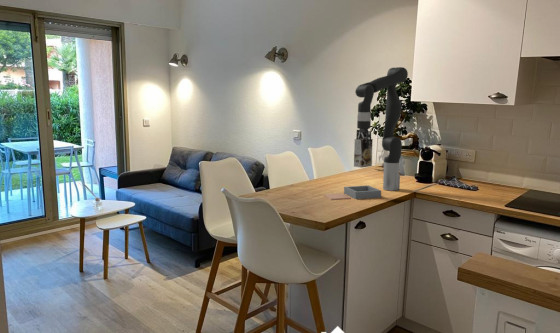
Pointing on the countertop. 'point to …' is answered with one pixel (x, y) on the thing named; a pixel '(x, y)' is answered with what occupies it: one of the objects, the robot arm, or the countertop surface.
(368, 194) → the grey square tray
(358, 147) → the coffee box
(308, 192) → the countertop surface
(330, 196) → the coaster
